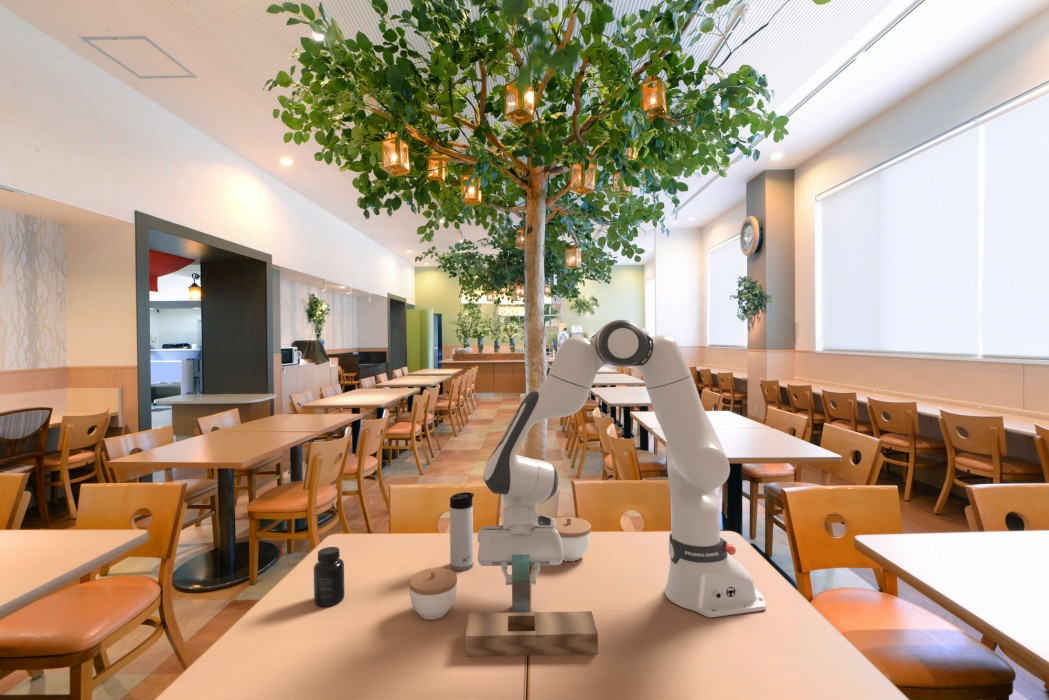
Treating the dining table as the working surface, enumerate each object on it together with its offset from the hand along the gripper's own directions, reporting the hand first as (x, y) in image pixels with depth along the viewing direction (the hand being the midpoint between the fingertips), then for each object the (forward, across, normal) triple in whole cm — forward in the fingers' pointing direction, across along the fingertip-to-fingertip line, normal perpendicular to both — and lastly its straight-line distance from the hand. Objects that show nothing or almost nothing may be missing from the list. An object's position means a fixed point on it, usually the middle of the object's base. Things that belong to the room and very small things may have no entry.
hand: (520, 584), depth 111 cm
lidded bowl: (-16, +14, +25) cm, 33 cm away
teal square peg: (+4, 0, +5) cm, 6 cm away
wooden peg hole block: (+13, +2, -4) cm, 13 cm away
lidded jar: (+4, -20, +5) cm, 21 cm away
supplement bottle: (0, -46, +9) cm, 47 cm away
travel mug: (-12, -16, +21) cm, 29 cm away
